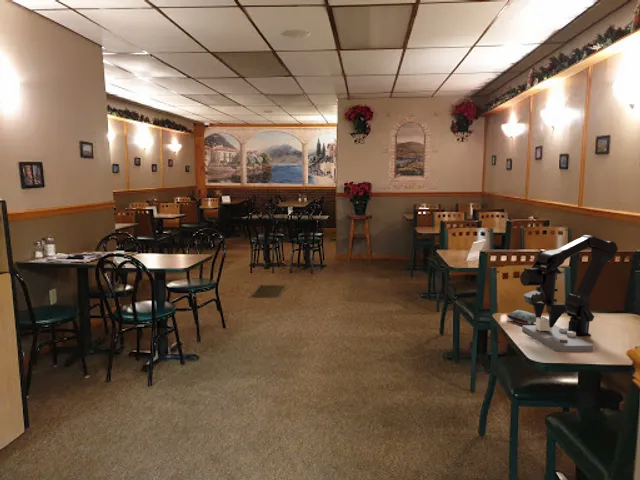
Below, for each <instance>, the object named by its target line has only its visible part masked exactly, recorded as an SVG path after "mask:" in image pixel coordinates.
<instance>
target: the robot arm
mask: <svg viewBox="0 0 640 480" xmlns="http://www.w3.org/2000/svg"><path fill="white" fill-rule="evenodd" d="M588 248H589V249H591V250H590V256H591V260H590V262H589V264H588V266H587V268H586V271H585V273H584V274H583V277H582V279H581V281H580V284H579V285H578V288H577V289H576V291H575V292H573V293H569V294H568V295H567V297H566V299H565V301H564V303H562V302H558V299H557V298H555V296H556V295H555V294H556V292H558V288H556V284H557V283H556V281H557V275H561V274H563V273H562V271H561V270H560V269H559V268H560V267H561V266H562V265H564V263H565V260H567V259H569V258H571V257H572V256H574V255H577V254H578V253H580V252H582V251H585V250H586V249H588ZM618 250H619V248H618V245H617V243H615V242H614V241H611V240H606V239H601V238H599V237H596V236H594V235H590V234H584V235H583V234H582V235H581V236H580V238H577V239H575V240H573V241H570V242H569V243H567V244H565V245H562V246H561V247H559V248H556V249H549V250H546V251H543V252H541V253H540V254H539V255H538V258H537V260H535V262H534V264H533V265H532V266H531V267H530V268H529V267H524V269H523V271H522V272H521V273H520V276H519V280H520V283H521V285H523V286H524V287H529V286H530V287H532V286H534V287H535V286H536V287H535V290H532V291H528V292H525V293H524V294H523V298H524V302H525V304H528V305H530V306H532V308H533V311H534V312H533V313H534V315H535V316H536V317H542V315H543V311H544V309H545V308H546V310H545V312H546V313H547V314H548V317H549V327H550V328H552V327H553V326H554V325H556V323H557V322H558V320H559V319H560V317H561V316H562V315H563V314H565V313H566V315H567V317H569V321H568V326H567V328H568V331H573V332H576V336H577V337H579V336H580V337H581V336H583V337H584V336H592V334H591V333H589V328H590V322H593V321H594V319H595V315H594V313H592V311H591V310H590V307H591V299H590V297H591V295H592V293H593V290H594V288H595V287H596V285H597V283H598V280H599V278H600V276H601V273H602V272H603V270H604V267H605V265H606V264H608V262H610V261H612V260H613V258H614V256H615V255H616V254H617V252H618Z"/></svg>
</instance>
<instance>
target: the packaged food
mask: <svg viewBox="0 0 640 480" xmlns="http://www.w3.org/2000/svg"><path fill="white" fill-rule="evenodd" d="M506 316H507V318H509V320H511V321H513V322H516V323H519V324H522V325H533V324H536V316H535V313H532V312H529V311H526V310H520V309H517V310H514V311H512V312H510V313H508V314H506Z"/></svg>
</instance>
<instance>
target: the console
mask: <svg viewBox="0 0 640 480" xmlns="http://www.w3.org/2000/svg"><path fill="white" fill-rule="evenodd" d="M521 331H522V332H524V333H526V334H528V335H529V336H531V337H532V338H534V339H535V340H537V341H538V342H540V343H542V344H543V345H544V346H546V347H548V348H550V349H551V350H553V351H554V352H591V351H593V352H594V345H593V344H592V343H590V342H588V341H586V340H584V339H582V338H581V337H579V336H576V332H573V331H568V327H564V326H557V325H556V324H555V325H554V326H553V327H552V331H539V330H537V329H536V324H528V325H526V324H522V326H521Z"/></svg>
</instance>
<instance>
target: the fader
mask: <svg viewBox="0 0 640 480" xmlns="http://www.w3.org/2000/svg"><path fill="white" fill-rule="evenodd" d="M535 325H536V329H537V330H539V331H552V328H550V327H549V316H548V317H545V316H541V317H536V323H535Z"/></svg>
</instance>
